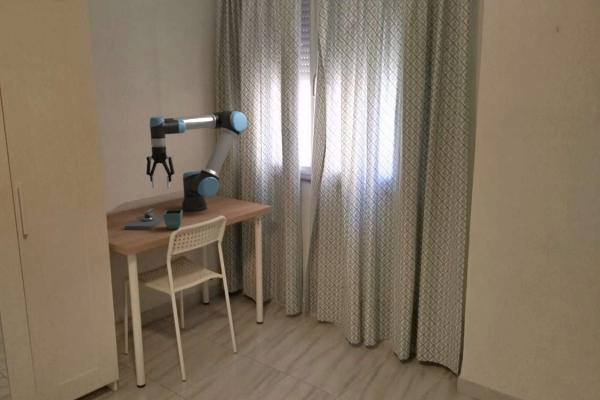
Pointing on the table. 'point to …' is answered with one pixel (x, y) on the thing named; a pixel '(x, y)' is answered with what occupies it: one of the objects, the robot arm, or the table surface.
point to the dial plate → (143, 223)
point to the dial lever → (148, 215)
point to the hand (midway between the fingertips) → (161, 187)
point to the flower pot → (173, 218)
